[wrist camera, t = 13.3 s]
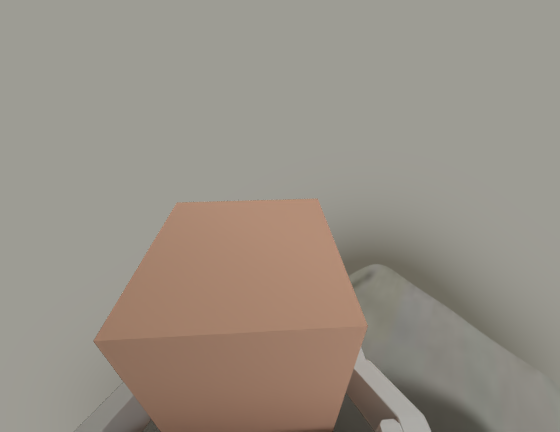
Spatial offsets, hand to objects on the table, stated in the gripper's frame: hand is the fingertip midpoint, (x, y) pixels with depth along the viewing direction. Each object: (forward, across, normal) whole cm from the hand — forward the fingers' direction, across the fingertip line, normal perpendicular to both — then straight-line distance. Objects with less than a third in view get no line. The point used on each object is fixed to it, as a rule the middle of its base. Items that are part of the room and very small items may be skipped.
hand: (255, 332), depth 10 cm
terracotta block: (-1, 0, +8) cm, 8 cm away
